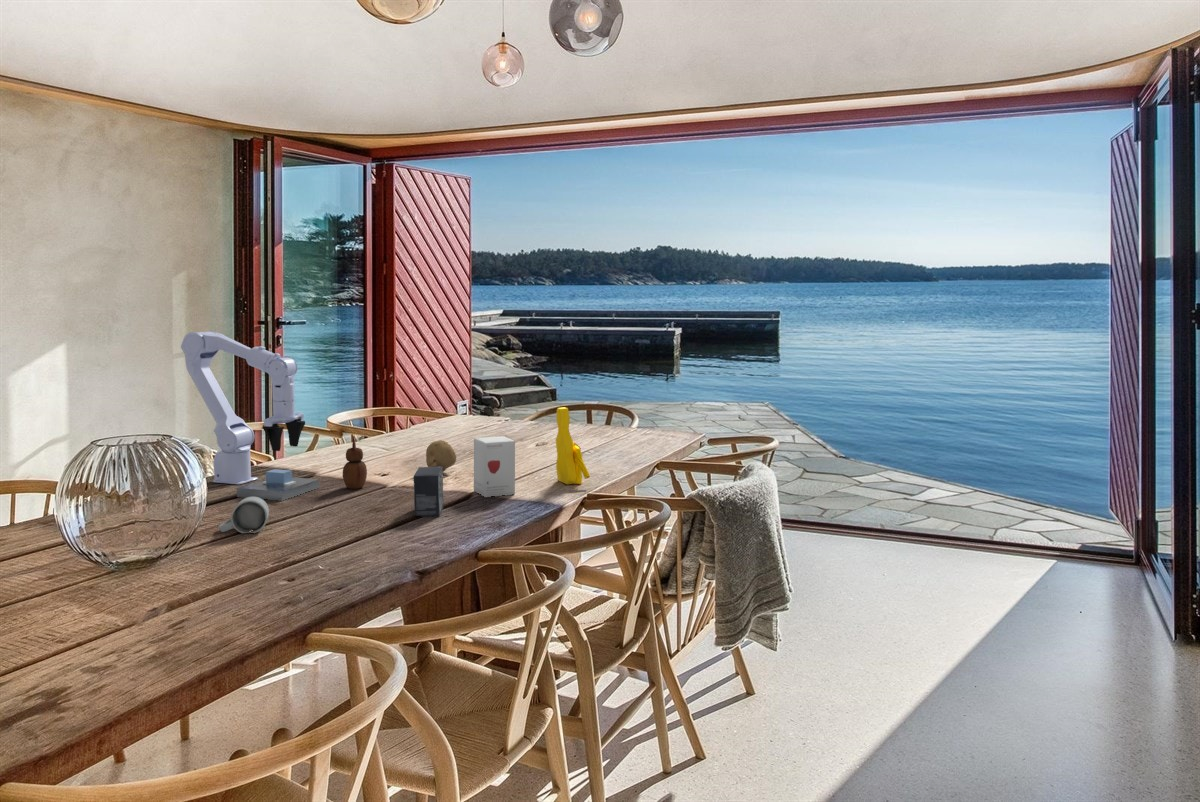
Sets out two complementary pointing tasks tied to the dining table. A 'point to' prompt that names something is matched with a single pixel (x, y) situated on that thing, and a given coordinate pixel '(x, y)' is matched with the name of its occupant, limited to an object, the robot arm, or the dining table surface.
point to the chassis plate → (277, 489)
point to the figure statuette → (568, 452)
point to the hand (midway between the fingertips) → (285, 448)
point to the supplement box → (494, 466)
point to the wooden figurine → (354, 468)
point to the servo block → (279, 478)
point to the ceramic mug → (247, 516)
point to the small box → (428, 491)
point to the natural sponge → (440, 455)
